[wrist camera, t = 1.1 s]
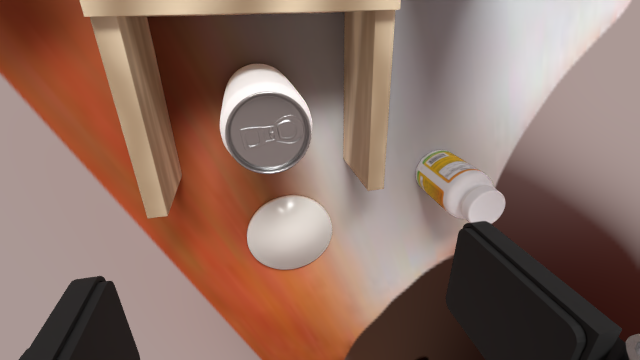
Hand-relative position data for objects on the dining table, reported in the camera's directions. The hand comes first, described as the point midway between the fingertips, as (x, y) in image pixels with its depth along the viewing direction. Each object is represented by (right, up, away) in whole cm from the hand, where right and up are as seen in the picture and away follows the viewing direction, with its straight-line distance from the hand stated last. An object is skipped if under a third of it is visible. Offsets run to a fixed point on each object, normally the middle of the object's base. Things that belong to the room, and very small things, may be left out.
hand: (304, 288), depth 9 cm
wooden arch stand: (-5, +11, +23) cm, 26 cm away
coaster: (-3, -3, +31) cm, 31 cm away
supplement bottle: (+14, +4, +32) cm, 35 cm away
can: (-5, +11, +24) cm, 27 cm away
